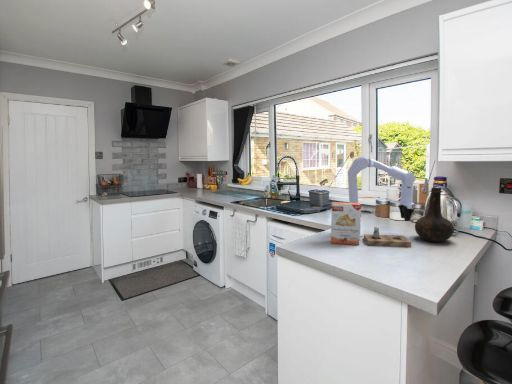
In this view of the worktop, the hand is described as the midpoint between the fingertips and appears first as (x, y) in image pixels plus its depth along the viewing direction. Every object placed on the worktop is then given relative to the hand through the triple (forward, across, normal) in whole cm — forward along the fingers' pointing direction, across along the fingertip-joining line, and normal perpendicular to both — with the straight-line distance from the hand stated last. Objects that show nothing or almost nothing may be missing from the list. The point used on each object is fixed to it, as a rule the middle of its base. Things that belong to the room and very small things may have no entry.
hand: (405, 219), depth 158 cm
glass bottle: (+10, -2, -14) cm, 17 cm away
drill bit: (+10, -13, +17) cm, 24 cm away
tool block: (+10, -13, +12) cm, 20 cm away
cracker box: (+10, -18, +32) cm, 38 cm away
